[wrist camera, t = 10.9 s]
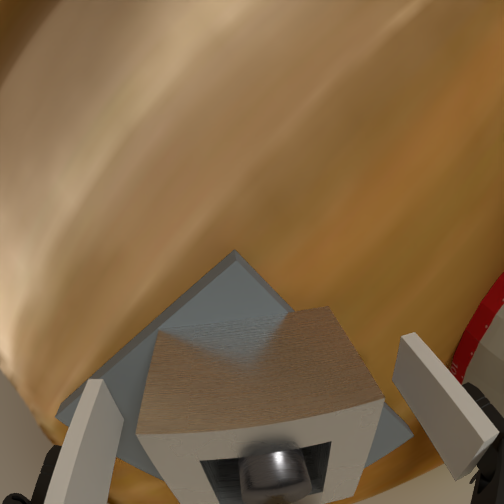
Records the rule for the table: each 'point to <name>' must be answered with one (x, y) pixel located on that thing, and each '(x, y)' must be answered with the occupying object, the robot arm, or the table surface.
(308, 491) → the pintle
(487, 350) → the kitchen timer
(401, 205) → the table surface
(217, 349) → the link
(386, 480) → the table surface
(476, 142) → the table surface
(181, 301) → the board
